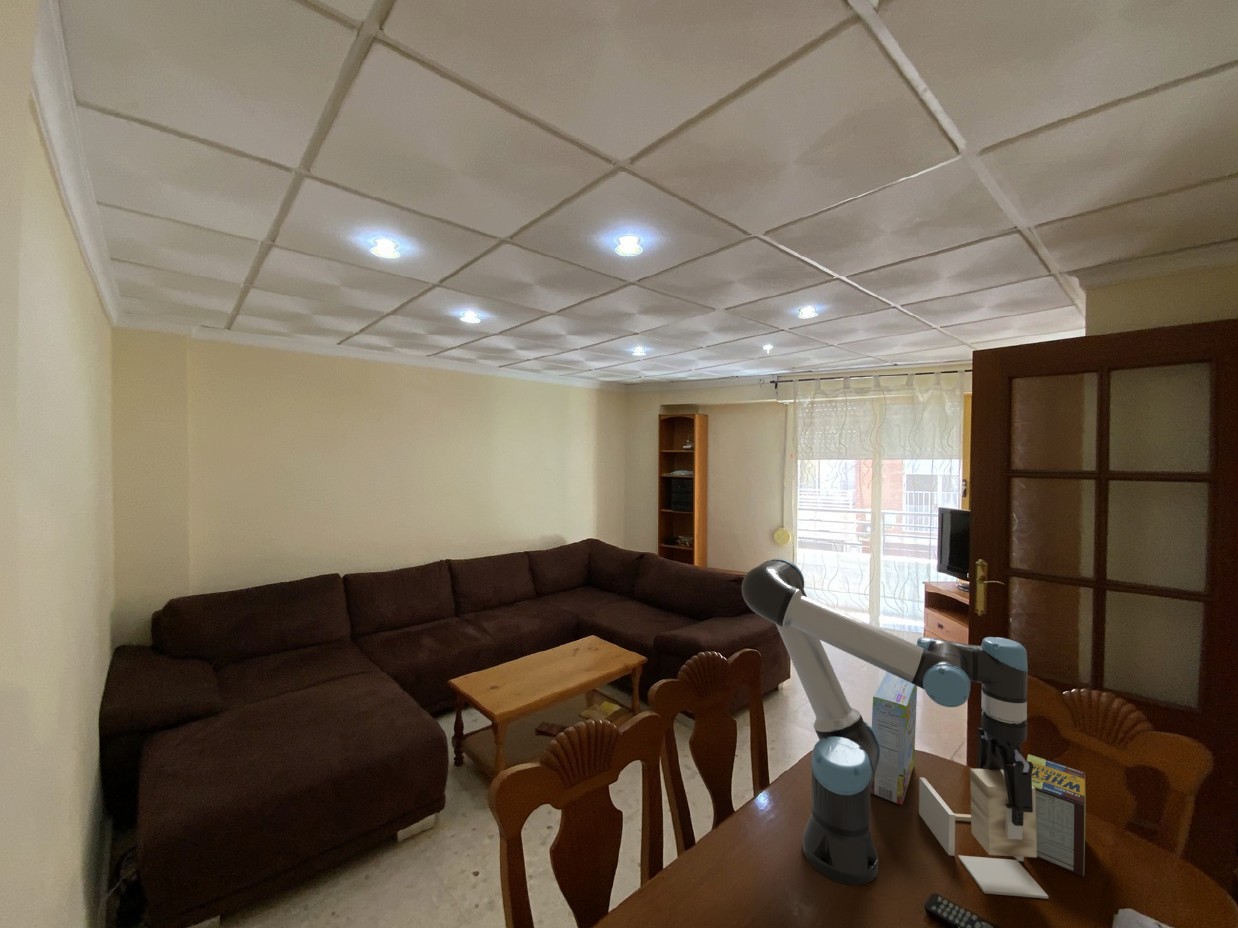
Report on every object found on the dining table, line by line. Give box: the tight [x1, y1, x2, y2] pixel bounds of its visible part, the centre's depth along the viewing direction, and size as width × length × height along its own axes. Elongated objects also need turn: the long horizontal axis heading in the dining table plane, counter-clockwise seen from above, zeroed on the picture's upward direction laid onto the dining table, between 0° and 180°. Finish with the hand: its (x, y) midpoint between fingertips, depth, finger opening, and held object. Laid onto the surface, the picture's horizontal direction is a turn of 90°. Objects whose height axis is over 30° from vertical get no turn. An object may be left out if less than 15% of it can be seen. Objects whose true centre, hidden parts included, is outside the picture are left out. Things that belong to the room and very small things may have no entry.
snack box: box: [870, 671, 918, 806], centre depth 136 cm, size 22×9×26 cm, turn 143°
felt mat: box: [957, 854, 1049, 900], centre depth 104 cm, size 12×9×1 cm
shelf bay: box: [918, 777, 1025, 862], centre depth 116 cm, size 15×13×9 cm
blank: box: [969, 768, 1038, 858], centre depth 104 cm, size 9×6×14 cm, turn 84°
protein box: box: [1026, 754, 1087, 877], centre depth 113 cm, size 10×15×16 cm
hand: (1002, 825), depth 104 cm, fingers closed on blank, 6 cm apart
